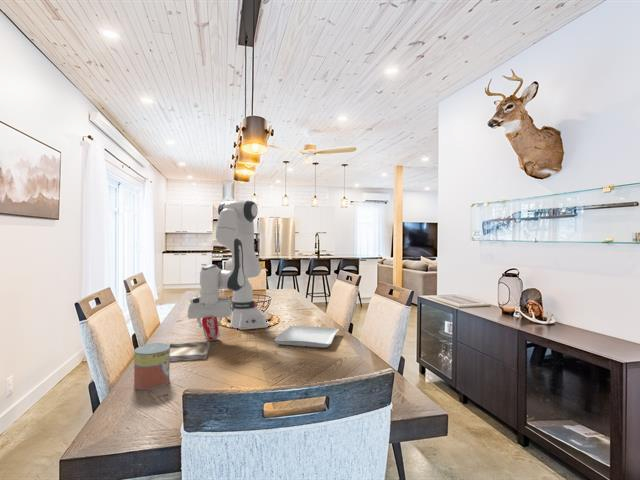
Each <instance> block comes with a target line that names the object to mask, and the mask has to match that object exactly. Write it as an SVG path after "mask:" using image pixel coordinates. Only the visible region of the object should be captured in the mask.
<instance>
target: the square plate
mask: <svg viewBox="0 0 640 480" xmlns="http://www.w3.org/2000/svg"><path fill="white" fill-rule="evenodd" d="M339 330H340V329H339V328H333V327H326V326H325V327H324V326H314V325H313V326H310V325H309V326H308V325H289V326H287V328H285V330H283V331H282V332H281V333H280V334H278V336H276V338H274V342H275V343H276V344H278V345H284V346H292V345H293V346H295V347H305V346H307V347H308V348H309V347H310V348H323V349H325V348H328V347H329V346H330V345H331V344H333V341H334V338H335V337H336V334H337V333H339ZM307 347H306V348H307Z"/></svg>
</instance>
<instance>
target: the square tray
mask: <svg viewBox="0 0 640 480" xmlns="http://www.w3.org/2000/svg"><path fill="white" fill-rule="evenodd" d="M168 345H169V346H170V362H176V361H177V362H178V361H181V362H182V361H194V360H195V361H196V360H206V359H207V357H208V354H209V350H210V347H211V346H210V345H211V341H199V342H198V341H194V342H191V341H190V342H177V343H176V342H174V343H173V342H171V343H168Z"/></svg>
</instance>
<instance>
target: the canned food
mask: <svg viewBox="0 0 640 480" xmlns="http://www.w3.org/2000/svg"><path fill="white" fill-rule="evenodd" d="M168 344H169V343H168ZM168 344H167V343H159V342H157V343H149V344H144V345H141V346H138V347H136V348H135V349H134V351H133V352H134V356H133V358H134V360H133V361H134V362H133V363H134V364H133V365H134V367H133V368H134V370H133V371H134V373H133V375H134V378H133V379H134V380H133V387H134V388H135V389H137V390H142V389H146V390H147V389H148V390H153V389H154V390H155V389H158V388H161V387H162V388H163V387H164V386H166V385H168V383H170V381H171V380H170V379H171V378H170V375H171V374H170V368H171V367H170V365H171V364H170V362H171V361H170V346H169V345H168ZM148 390H147V391H148Z"/></svg>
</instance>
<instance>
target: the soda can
mask: <svg viewBox="0 0 640 480" xmlns="http://www.w3.org/2000/svg"><path fill="white" fill-rule="evenodd" d="M218 322H219V320H218V317H214V316H213V315H212V316H209V317H203V318H201V323H202V324H203V327H202V328H203V333H204V338H205V341H207V342H211V341H216V340H217V339H219V338H220V335H221V334H220V328H219V327H220V326H218Z"/></svg>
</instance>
